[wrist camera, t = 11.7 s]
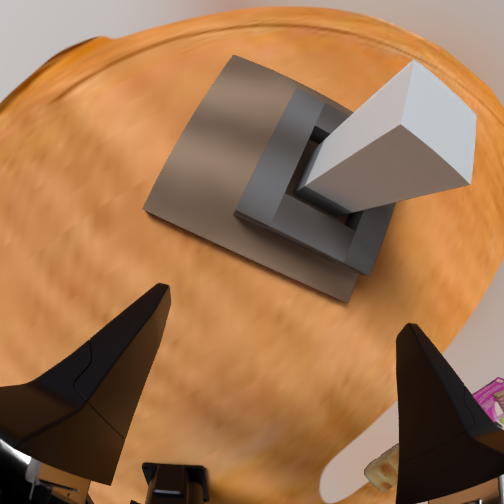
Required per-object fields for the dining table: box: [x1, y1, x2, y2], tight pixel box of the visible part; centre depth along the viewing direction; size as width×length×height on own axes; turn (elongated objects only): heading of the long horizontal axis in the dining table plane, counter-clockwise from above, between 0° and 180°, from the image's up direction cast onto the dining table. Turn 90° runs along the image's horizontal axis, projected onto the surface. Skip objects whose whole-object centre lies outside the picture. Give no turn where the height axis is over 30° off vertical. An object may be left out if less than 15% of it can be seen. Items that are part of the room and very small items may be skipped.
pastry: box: [364, 443, 399, 493], centre depth 24 cm, size 9×7×4 cm
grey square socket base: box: [143, 55, 396, 303], centre depth 21 cm, size 16×18×4 cm
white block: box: [293, 59, 476, 217], centre depth 15 cm, size 4×4×14 cm
